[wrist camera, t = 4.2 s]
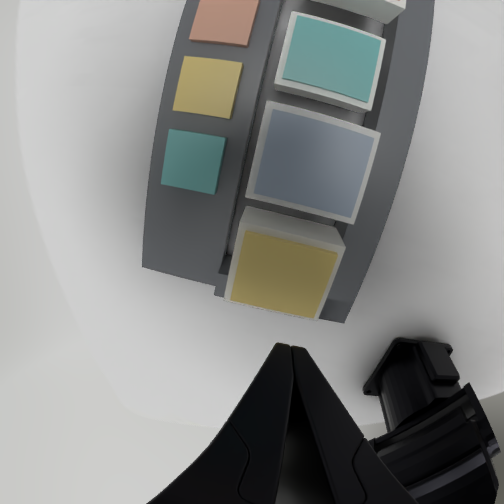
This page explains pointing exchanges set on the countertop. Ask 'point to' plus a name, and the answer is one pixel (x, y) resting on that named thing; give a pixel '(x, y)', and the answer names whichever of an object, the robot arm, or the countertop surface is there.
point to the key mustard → (283, 263)
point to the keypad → (238, 135)
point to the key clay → (370, 8)
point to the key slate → (311, 162)
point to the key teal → (330, 62)
